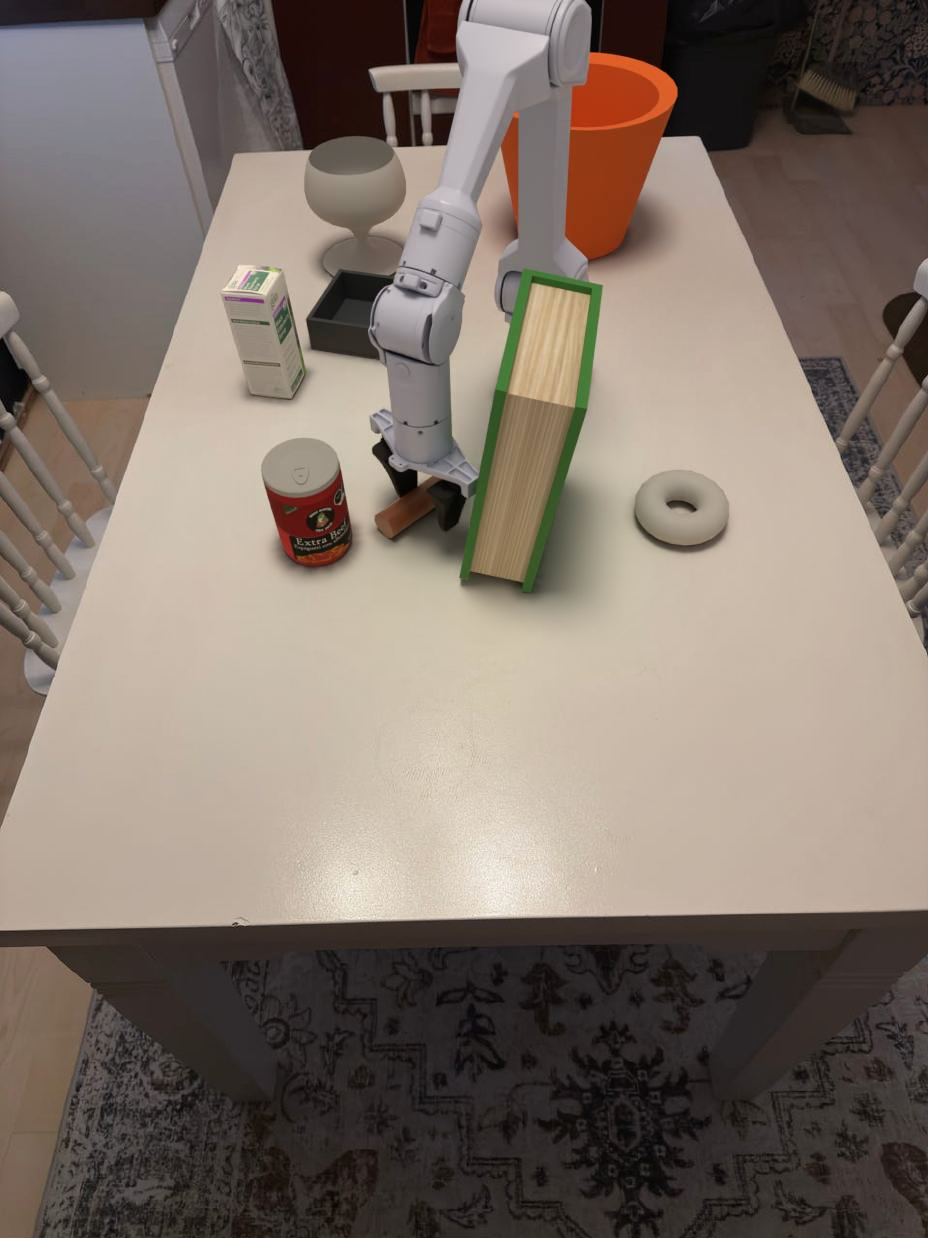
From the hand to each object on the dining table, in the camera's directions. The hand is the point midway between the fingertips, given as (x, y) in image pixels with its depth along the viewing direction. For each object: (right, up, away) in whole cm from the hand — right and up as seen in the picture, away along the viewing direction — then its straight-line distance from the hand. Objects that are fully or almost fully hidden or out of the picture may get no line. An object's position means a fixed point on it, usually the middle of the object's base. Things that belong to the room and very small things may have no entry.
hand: (428, 510), depth 90 cm
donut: (+27, -1, +1) cm, 27 cm away
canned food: (-12, -3, 0) cm, 12 cm away
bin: (-8, +27, +23) cm, 37 cm away
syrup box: (-20, +18, +17) cm, 32 cm away
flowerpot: (+20, +47, +37) cm, 63 cm away
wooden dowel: (0, 0, +1) cm, 1 cm away
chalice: (-11, +41, +34) cm, 54 cm away
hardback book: (+8, -2, 0) cm, 9 cm away
